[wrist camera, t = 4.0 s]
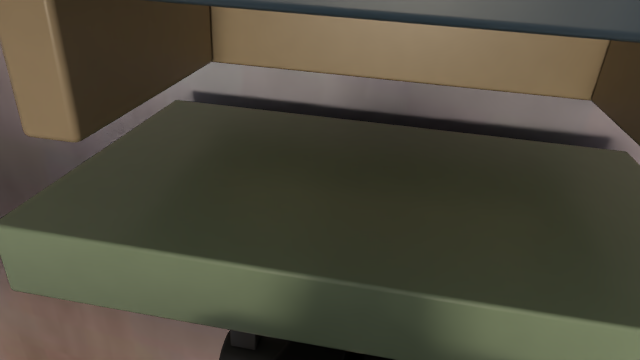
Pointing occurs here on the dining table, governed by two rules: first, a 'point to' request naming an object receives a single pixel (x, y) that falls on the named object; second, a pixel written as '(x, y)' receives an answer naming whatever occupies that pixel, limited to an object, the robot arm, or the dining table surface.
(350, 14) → the cabinet
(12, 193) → the dining table surface
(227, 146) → the drawer
